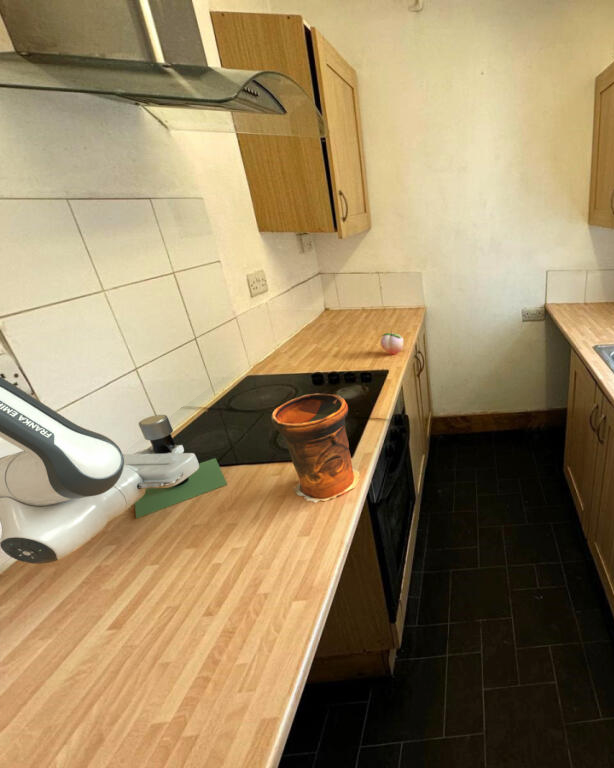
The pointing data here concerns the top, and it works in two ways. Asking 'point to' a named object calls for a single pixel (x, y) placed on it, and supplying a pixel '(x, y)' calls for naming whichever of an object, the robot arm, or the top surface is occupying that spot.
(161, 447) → the torch
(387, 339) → the decorative fruit
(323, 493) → the vessel
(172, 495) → the cloth
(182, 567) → the top surface
